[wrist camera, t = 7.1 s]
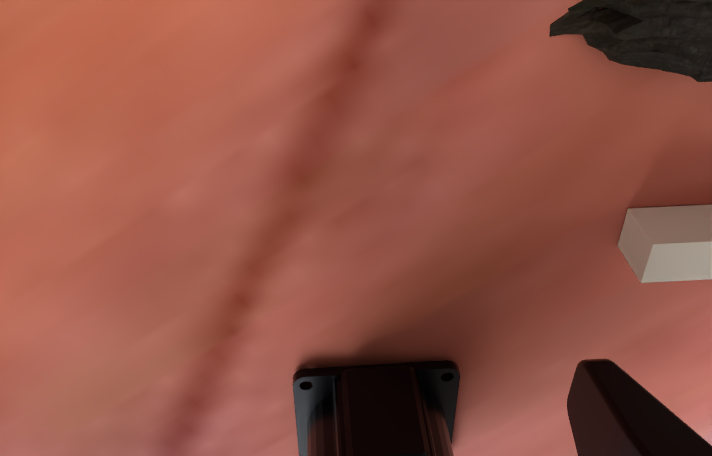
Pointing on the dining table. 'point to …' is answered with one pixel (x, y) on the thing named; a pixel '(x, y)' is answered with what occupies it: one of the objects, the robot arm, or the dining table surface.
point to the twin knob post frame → (668, 243)
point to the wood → (646, 33)
